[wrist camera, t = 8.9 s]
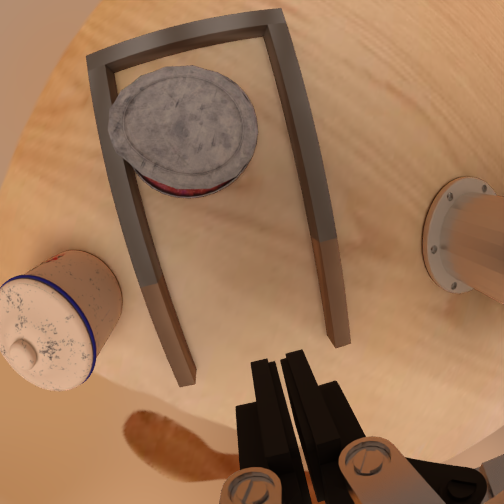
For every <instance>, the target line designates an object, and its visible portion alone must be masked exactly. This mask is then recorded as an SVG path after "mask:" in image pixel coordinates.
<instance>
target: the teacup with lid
mask: <svg viewBox="0 0 504 504" xmlns="http://www.w3.org/2000/svg"><path fill="white" fill-rule="evenodd" d="M121 310H122V296H121V291H120V288H119V285H118V282H117V280H116V278H115V276H114V275H113V273H112V272H111V270H110V269H109V268H108V267H107V266H106V265H105V264H104V263H103V262H102V261H101V260H100V259H98V258H97V257H95V256H93V255H91V254H89V253H86V252H83V251H78V250H70V251H65V252H61V253H59V254H57V255H56V256H54V257H52V258H50V259H49V260H47V261H45V262H44V263H42V264H40V265H39V266H37V267H35V268H34V269H32V270H30V271H29V272H27V273H25V274H24V275H19V276H16V277H13V278H11V279H9V280H8V281H6V282H5V283H4V284H3V285H2V286H1V287H0V351H1V353H2V355H3V356H4V358H5V359H6V360H7V362H8V363H9V364H10V366H11V367H12V368H13V369H14V370H15V371H16V372H17V373H18V374H19V375H21V376H22V377H23V378H24V379H26V380H27V381H29V382H30V383H32V384H34V385H36V386H38V387H41V388H44V389H48V390H52V391H66V390H70V389H73V388H75V387H77V386H79V385H81V384H82V383H84V382H85V381H86V380H87V379H88V378H89V377H90V375H91V373H92V371H93V369H94V366H95V363H96V358H97V356H98V354H99V353H100V351H101V349H102V347H103V346H104V344H105V342H106V341H107V339H108V337H109V336H110V334H111V332H112V331H113V329H114V327H115V326H116V324H117V322H118V320H119V318H120V315H121Z"/></svg>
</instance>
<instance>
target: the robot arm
mask: <svg viewBox="0 0 504 504" xmlns="http://www.w3.org/2000/svg"><path fill="white" fill-rule="evenodd" d="M423 255H424V261H425V265H426V268H427V270H428V273H429V275H430V276H431V278H432V280H433V281H434V282H435V283H436V284H437V285H438V286H440V287H441V288H443V289H444V290H446V291H448V292H451V293H458V294H460V293H465V292H468V291H471V290H473V289H476V290H478V291H479V292H481V293H483V294H485V295H487V296H489V297H491V298H492V299H494V300H496V301H498V302H500V303H501V304H503V305H504V197H501V196H497V195H496V193H495V191H494V190H493V188H492V187H491V186H490V185H489V184H488V183H486V182H485V181H483V180H481V179H479V178H475V177H461V178H457V179H455V180H453V181H451V182H449V183H448V184H447V185H446V186H444V187H443V188H442V190H441V191H440V192H439V193H438V195H437V196H436V198H435V199H434V201H433V203H432V205H431V207H430V210H429V212H428V215H427V218H426V222H425V226H424V233H423ZM280 361H281V366H282V370H283V374H284V378H285V383H286V387H287V391H288V396H289V400H290V404H291V408H292V413H293V417H294V421H295V425H296V428H297V432H298V435H299V439H300V442H301V446H302V449H303V452H304V456H305V460H306V463H307V466H308V470H309V474H310V477H311V481H312V484H313V488H314V491H315V494H316V498H317V501H318V502H321V501H325V503H326V504H504V454H503V455H501V456H498V457H496V458H494V459H491V460H489V461H487V462H484V463H482V465H481V467H478V468H475V469H472V468H468V467H460V466H453V465H446V464H439V463H433V462H427V461H422V460H416V459H411V458H406V457H404V456H403V455H402V454H401V452H400V451H399V450H398V449H397V448H396V447H395V446H394V444H392V443H391V442H390V441H389V440H386V439H384V438H381V437H373V436H371V437H366V436H365V434H364V432H363V430H362V428H361V426H360V425H359V423H358V421H357V419H356V417H355V415H354V413H353V411H352V409H351V407H350V405H349V403H348V401H347V399H346V397H345V396H344V394H343V392H342V390H341V388H340V386H339V384H338V383H337V381H333V382H329V383H326V384H323V385H319V386H318V384H317V382H316V380H315V377H314V375H313V373H312V371H311V368H310V366H309V364H308V361H307V359H306V357H305V354H304V352H303V350H298V351H294V352H290V353H287V354H286V358H285V359H281V360H280ZM251 369H252V376H253V382H254V389H255V396H256V402H253V403H248V404H243V405H238V406H236V422H237V436H238V448H239V463H240V471H237V472H235V473H234V474H233V475H231V476H230V477H229V478H228V479H227V480H226V481H225V483H224V485H223V488H222V490H221V496H220V501H219V504H312V502H311V498H310V494H309V489H308V485H307V481H306V477H305V473H304V469H303V464H302V460H301V456H300V452H299V448H298V444H297V441H296V437H295V433H294V430H293V426H292V422H291V419H290V415H289V411H288V408H287V404H286V400H285V397H284V393H283V389H282V386H281V382H280V378H279V374H278V371H277V367H276V363H275V361H273V362H269V363H268V359H263V360H259V361H254V362H251Z"/></svg>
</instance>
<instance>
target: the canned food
mask: <svg viewBox="0 0 504 504" xmlns="http://www.w3.org/2000/svg"><path fill="white" fill-rule="evenodd" d="M108 132H109V136H110V139H111V143H112V145H113V147H114V149H115V151H116V153H117V154H119V155H120V156H121V157H122V158H124V159H125V160H126V161H127V162H129V163H130V164H131V165H132V167H133V169H134V171H135V172H136V173H137V174H138V176H139V177H140V178H141V179H142V180H143V181H144V182H145V183H146V184H148V185H149V186H150V187H151V188H153V189H155V190H157V191H159V192H161V193H163V194H166V195H169V196H173V197H178V198H197V197H204V196H207V195H210V194H213V193H216V192H218V191H220V190H221V189H223V188H225V187H227V186H228V185H229V184H231V183H232V182H233V181H234V180H236V179H237V178H238V177H239V176H240V174H241V173H242V172H243V171H244V170H245V169H246V167H247V165H248V163H249V162H250V160H251V158H252V156H253V153H254V150H255V147H256V144H257V135H258V126H257V118H256V114H255V111H254V108H253V105H252V104H251V102H250V100H249V98H248V96H247V95H246V94H245V92H244V91H243V90H242V89H241V88H240V87H239V86H238V85H237V84H236V83H234V82H233V81H232V80H231V79H229V78H227V77H225V76H223V75H221V74H219V73H218V72H214V71H210V70H206V69H203V68H199V67H196V66H193V65H191V66H176V67H164V68H161V69H159V70H156V71H154V72H151V73H148V74H145V75H142V76H140V77H139V78H137V79H136V80H135V81H134V82H133V83H131V84H130V85H129V86H127V87H126V88H124V89H123V90H121V92H120V93H119V95H118V97H117V99H116V100H115V102H114V103H113V105H112V106H111V107H110V109H109V123H108Z"/></svg>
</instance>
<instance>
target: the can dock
mask: <svg viewBox="0 0 504 504" xmlns="http://www.w3.org/2000/svg"><path fill="white" fill-rule="evenodd" d="M262 36H263V37H264V40H265V44H266V47H267V51H268V54H269V58H270V61H271V65H272V69H273V72H274V76H275V80H276V84H277V88H278V91H279V95H280V99H281V103H282V107H283V111H284V115H285V119H286V123H287V127H288V132H289V136H290V140H291V144H292V149H293V153H294V158H295V162H296V167H297V171H298V176H299V180H300V185H301V190H302V194H303V199H304V204H305V209H306V214H307V219H308V224H309V229H310V235H311V240H312V245H313V251H314V256H315V262H316V268H317V273H318V279H319V285H320V291H321V297H322V304H323V310H324V316H325V323H326V330H327V336H328V337H329V339H330V340H331V342H332V344H333V345H334V347H335V348H339V347H342V346H345V345H348V344H351V339H350V329H349V320H348V311H347V303H346V295H345V287H344V280H343V273H342V266H341V259H340V253H339V246H338V240H337V234H336V228H335V222H334V217H333V211H332V206H331V200H330V195H329V190H328V185H327V180H326V175H325V170H324V165H323V160H322V156H321V151H320V147H319V142H318V138H317V134H316V129H315V125H314V121H313V117H312V113H311V109H310V105H309V101H308V97H307V93H306V89H305V86H304V82H303V78H302V74H301V71H300V67H299V64H298V60H297V57H296V53H295V50H294V47H293V43H292V40H291V37H290V33H289V30H288V27H287V24H286V21H285V18H284V15H283V12H282V9H281V8H278V9H267V10H259V11H251V12H244V13H237V14H231V15H225V16H219V17H214V18H209V19H204V20H199V21H194V22H190V23H186V24H182V25H178V26H174V27H170V28H166V29H162V30H159V31H155V32H152V33H149V34H145V35H142V36H139V37H136V38H133V39H130V40H127V41H124V42H121V43H118V44H115V45H113V46H110V47H107V48H105V49H102V50H99V51H97V52H94V53H92V54H89V55H87V56H86V60H87V68H88V76H89V82H90V89H91V95H92V102H93V107H94V113H95V119H96V124H97V129H98V134H99V139H100V144H101V149H102V153H103V158H104V162H105V167H106V171H107V175H108V179H109V183H110V187H111V191H112V195H113V199H114V203H115V207H116V210H117V214H118V218H119V221H120V225H121V228H122V232H123V235H124V238H125V242H126V245H127V248H128V251H129V255H130V258H131V261H132V264H133V267H134V270H135V273H136V276H137V279H138V282H139V285H140V288H141V291H142V294H143V297H144V299H145V302H146V305H147V308H148V310H149V313H150V316H151V319H152V321H153V324H154V326H155V329H156V332H157V334H158V337H159V339H160V342H161V344H162V347H163V349H164V352H165V354H166V357H167V359H168V361H169V364H170V366H171V368H172V371H173V373H174V375H175V378H176V380H177V382H178V385H179V387H184V386H189V385H194V384H195V382H196V367H195V364H194V362H193V359H192V356H191V354H190V351H189V348H188V346H187V343H186V340H185V338H184V335H183V332H182V329H181V326H180V324H179V321H178V318H177V315H176V312H175V309H174V306H173V304H172V301H171V298H170V295H169V292H168V289H167V285H166V282H165V279H164V276H163V273H162V270H161V267H160V263H159V260H158V257H157V254H156V250H155V247H154V244H153V240H152V237H151V233H150V230H149V226H148V223H147V219H146V216H145V212H144V208H143V204H142V201H141V197H140V193H139V189H138V185H137V181H136V177H135V173H134V169H133V167H132V165H131V164H130V163H129V162H127V161H126V160H125V159H124V158H122V157H121V156H120V155H119V154H117V153H116V151H115V149H114V147H113V145H112V143H111V139H110V136H109V132H108V123H109V109H110V107H111V106H112V105H113V103H114V102H115V100H116V99H117V97H118V93H117V88H116V82H115V76H114V73H115V72H118V71H121V70H124V69H127V68H130V67H133V66H136V65H139V64H142V63H145V62H148V61H152V60H155V59H158V58H162V57H165V56H169V55H173V54H176V53H180V52H184V51H188V50H192V49H197V48H201V47H206V46H210V45H215V44H220V43H225V42H231V41H236V40H242V39H248V38H255V37H262Z"/></svg>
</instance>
